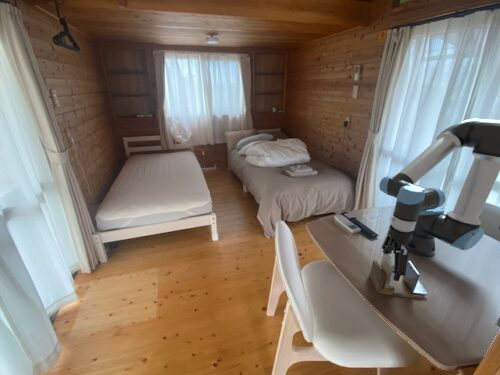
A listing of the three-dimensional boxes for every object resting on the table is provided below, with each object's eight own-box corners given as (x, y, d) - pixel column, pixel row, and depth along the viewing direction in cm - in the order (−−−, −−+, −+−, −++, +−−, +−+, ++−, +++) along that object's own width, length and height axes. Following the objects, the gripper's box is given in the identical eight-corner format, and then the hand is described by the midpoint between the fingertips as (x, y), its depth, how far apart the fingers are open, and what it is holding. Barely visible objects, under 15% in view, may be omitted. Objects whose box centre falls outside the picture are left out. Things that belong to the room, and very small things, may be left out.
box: (377, 279, 99) (383, 257, 96) (387, 279, 100) (393, 257, 96) (385, 289, 95) (391, 266, 91) (395, 288, 95) (402, 265, 91)
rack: (409, 280, 101) (415, 264, 98) (421, 299, 92) (427, 282, 89) (369, 275, 103) (373, 259, 100) (376, 292, 94) (381, 276, 91)
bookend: (417, 280, 99) (423, 262, 96) (427, 295, 92) (434, 276, 89) (402, 278, 100) (408, 260, 97) (411, 292, 93) (417, 274, 90)
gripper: (380, 212, 99) (369, 257, 107) (403, 243, 79) (387, 295, 87) (400, 214, 98) (387, 259, 106) (428, 246, 77) (410, 298, 85)
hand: (387, 275), depth 96 cm, fingers open, 10 cm apart
